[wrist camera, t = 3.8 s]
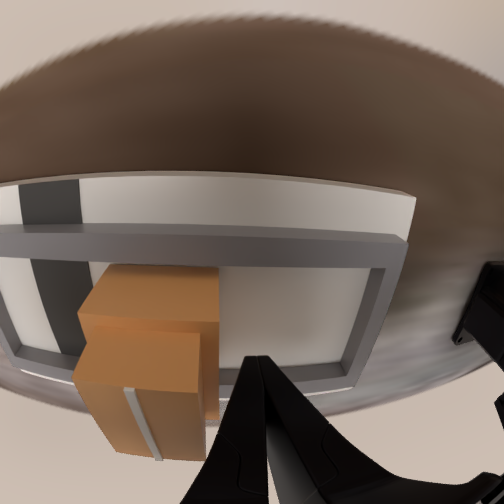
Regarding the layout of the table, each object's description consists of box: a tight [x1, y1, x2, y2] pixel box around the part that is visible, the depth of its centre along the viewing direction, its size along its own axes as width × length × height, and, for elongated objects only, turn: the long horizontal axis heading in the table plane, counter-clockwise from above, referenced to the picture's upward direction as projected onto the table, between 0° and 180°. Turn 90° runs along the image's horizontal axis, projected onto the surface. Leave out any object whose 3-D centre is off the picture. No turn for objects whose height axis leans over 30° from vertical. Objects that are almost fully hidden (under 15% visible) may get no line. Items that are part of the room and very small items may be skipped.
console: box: [0, 171, 416, 400], centre depth 11 cm, size 20×11×2 cm, turn 86°
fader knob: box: [71, 264, 219, 461], centre depth 8 cm, size 4×5×5 cm
